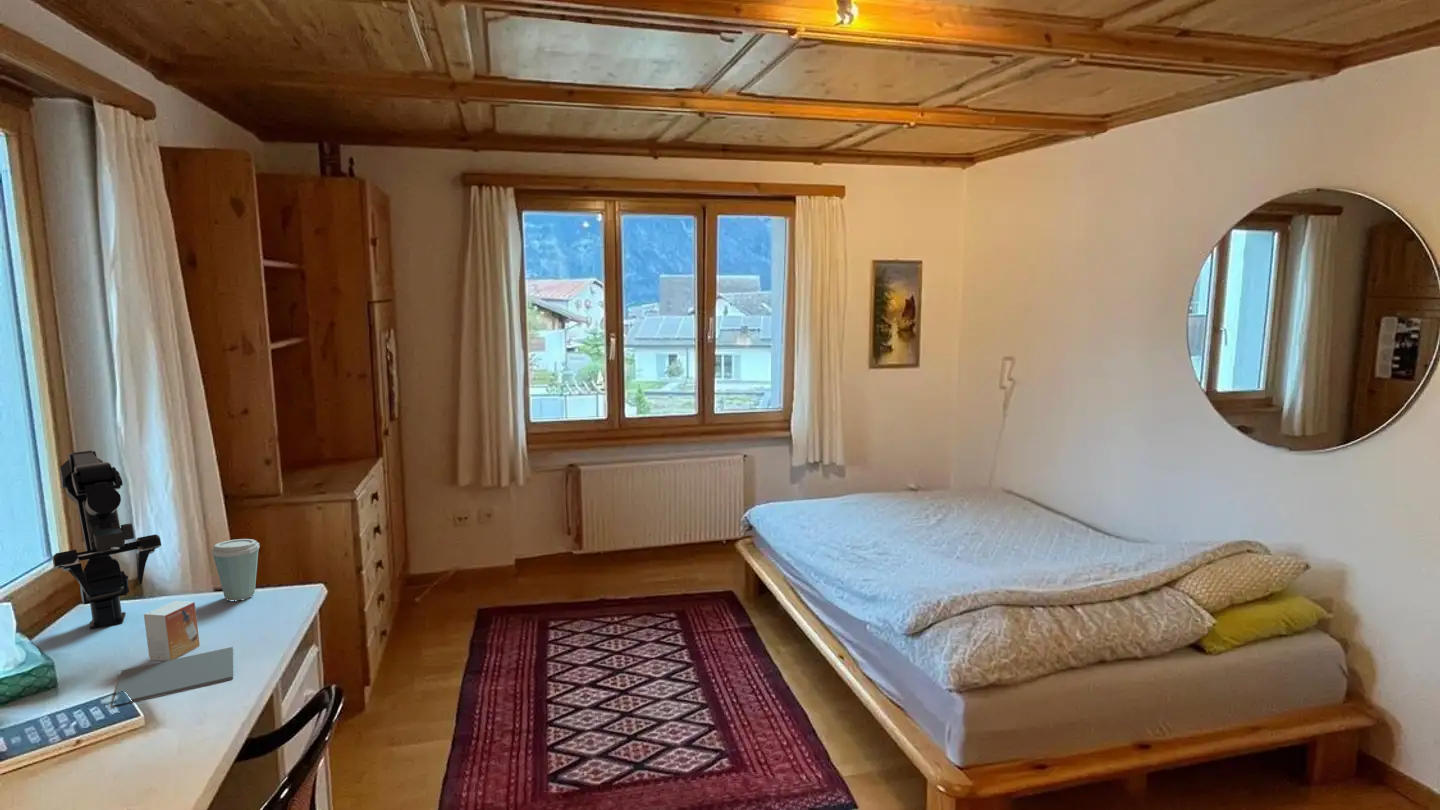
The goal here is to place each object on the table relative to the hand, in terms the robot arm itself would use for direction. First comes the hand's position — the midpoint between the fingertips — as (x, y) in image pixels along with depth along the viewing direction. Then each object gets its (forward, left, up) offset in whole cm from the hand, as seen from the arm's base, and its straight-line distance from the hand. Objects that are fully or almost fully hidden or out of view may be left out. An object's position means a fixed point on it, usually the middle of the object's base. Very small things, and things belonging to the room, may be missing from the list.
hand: (115, 589), depth 177 cm
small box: (+6, +10, -15) cm, 19 cm away
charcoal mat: (+20, +11, -15) cm, 27 cm away
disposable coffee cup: (-23, +23, -15) cm, 36 cm away
